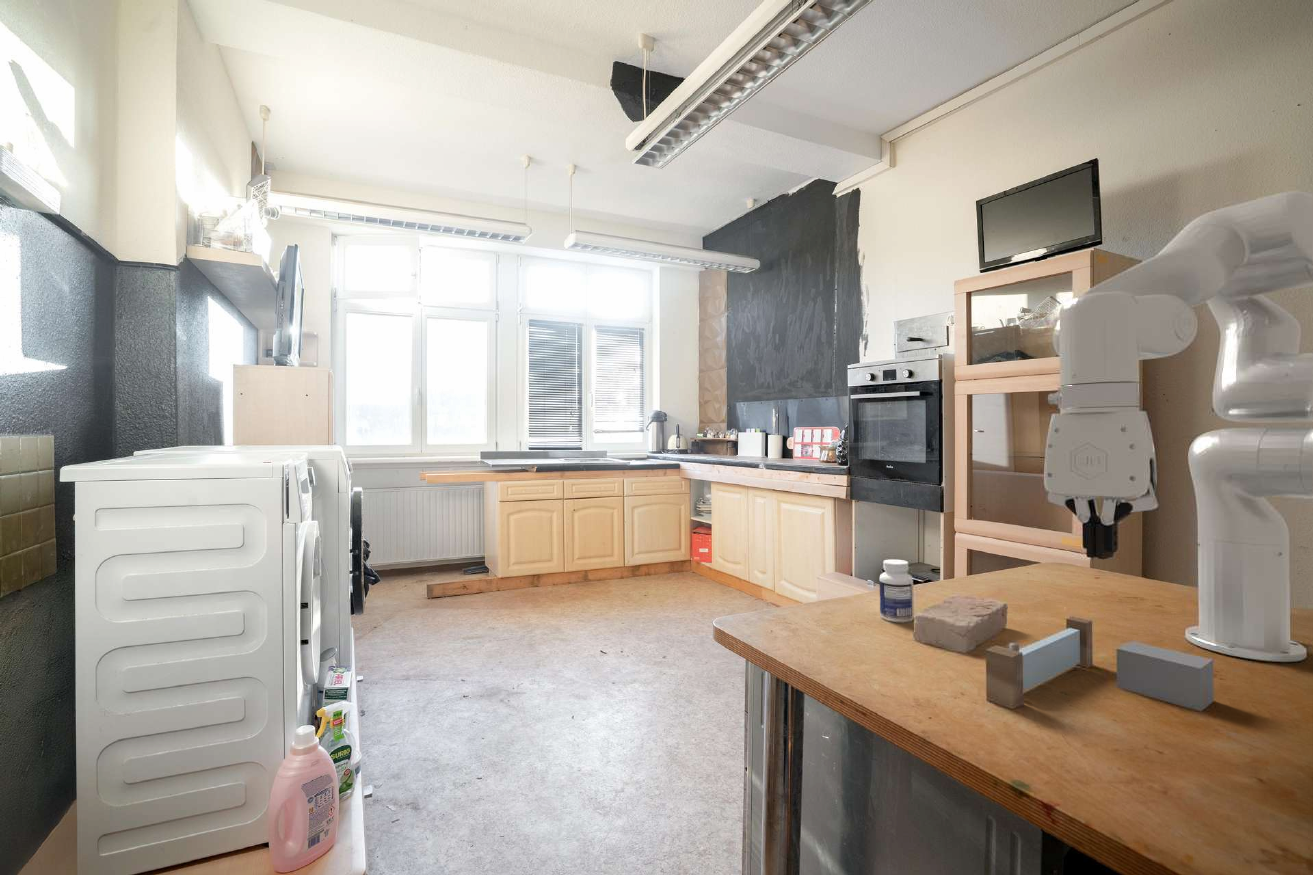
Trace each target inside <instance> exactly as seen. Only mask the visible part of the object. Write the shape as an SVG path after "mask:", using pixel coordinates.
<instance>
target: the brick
mask: <svg viewBox="0 0 1313 875" xmlns="http://www.w3.org/2000/svg"><path fill="white" fill-rule="evenodd" d="M1007 623H1008V603H1006V602H1004V601H1001V600H998V599H994V598H987V597H986V598H985V597H979V596H970V595H962V594H952V595H950V596H948V597H947V598H946V599H944V600H942V601H941V602H940V603H936V604H934V605H932V606H928V607H926V608H923V609H922V610H920V611H918V612H917V613H914V618H913V632H912V633H913V639H914V640H915V641H917V642H918V643H919V642H920V643H922V644H928V645H930V646H936V647H939V648H943V649H946V650H949V651H954V652H957V653H963V654H964V653H968V652H970V651H972V650H974V649H976V647H977V646H979V645H981V644H983V643H984V642H986V641H988V640H990V639H991V638H993V637H995V636H996V635H998V634H999V633H1000V632H1002V631H1003V629H1005V628H1007V627H1006V626H1007Z"/></svg>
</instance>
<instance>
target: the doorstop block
mask: <svg viewBox="0 0 1313 875" xmlns="http://www.w3.org/2000/svg"><path fill="white" fill-rule="evenodd" d="M1214 673H1215V672H1214V659H1212V658H1207V657H1203V656H1199V655H1193V654H1190V653H1185V652H1182V651H1181V652H1180V651H1177V650H1173V649H1168V648H1163V647H1159V646H1155V645H1150V644H1147V643H1141V642H1137V641H1132V640H1130V641H1128V642H1125V643H1124V644H1122V645H1121V646H1119V647H1117V648H1116V688H1117V689H1119V690H1123V691H1128V692H1132V693H1135V694H1138V695H1141V696H1145V697H1149V698H1152V699H1156V700H1160V701H1163V702H1166V701H1167V703H1170V704H1173V705H1176V706H1177V705H1178V706H1180V707H1184V708H1188V709H1192V710H1195V711H1197V712H1202V711H1203V710H1205V709H1206V708H1207V707H1209V706H1210V705H1211V704H1212V703H1214V702H1215V694H1214V693H1215V690H1214V689H1215V688H1214V686H1215V682H1214V679H1215V678H1214ZM1209 704H1210V705H1209ZM1204 708H1205V709H1204Z"/></svg>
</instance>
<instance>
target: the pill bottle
mask: <svg viewBox="0 0 1313 875" xmlns="http://www.w3.org/2000/svg"><path fill="white" fill-rule="evenodd" d="M882 566H883V570H884V572H882V573H881V574H880V575H879V615H880V618H881V619H883V620H884V621H887V622H892V623H909V622H912V621H914V619H915V610H914V609H915V608H914V605H915V604H914V579H913V577H912V575H911V574H910V573H908V572H909V569H910V568H909V561H907V560H904V559H885V560H883V565H882Z"/></svg>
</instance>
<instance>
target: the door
mask: <svg viewBox="0 0 1313 875" xmlns="http://www.w3.org/2000/svg"><path fill="white" fill-rule="evenodd" d="M1008 646H1009V648H1008V649H1011V650H1015V651H1018V652H1022V654H1023V693H1024V692H1026V691H1027V690H1030V689H1031V688H1034V687H1035V686H1038V685H1040V684H1042V683H1043V682H1047V680H1049V679H1051V678H1053V677H1055V676H1057V675H1059V674H1061V673H1063V672H1065V671H1067V670H1069V669H1071V668H1073V667H1074V666H1075V667H1076V666H1078V665H1077V664H1079V663H1080V630H1077V629H1072V628H1068V629H1063V630H1062V631H1059V632H1057V633H1054V634H1052V635H1050V636H1047V637H1045V638H1043V639H1041V640H1038V641H1036V642H1033V643H1031V644H1029V645H1027V646H1024V647H1022V648H1020V645H1019V643H1015V642H1009V644H1008Z"/></svg>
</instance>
